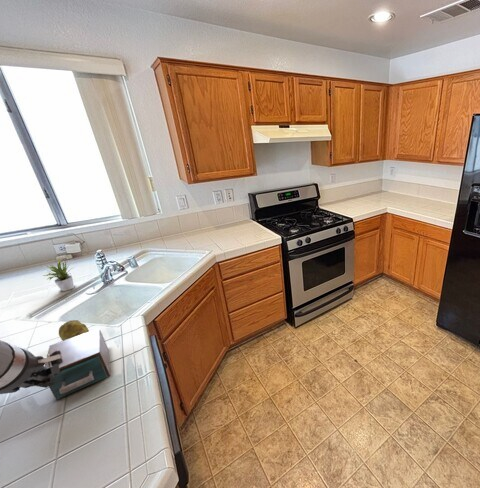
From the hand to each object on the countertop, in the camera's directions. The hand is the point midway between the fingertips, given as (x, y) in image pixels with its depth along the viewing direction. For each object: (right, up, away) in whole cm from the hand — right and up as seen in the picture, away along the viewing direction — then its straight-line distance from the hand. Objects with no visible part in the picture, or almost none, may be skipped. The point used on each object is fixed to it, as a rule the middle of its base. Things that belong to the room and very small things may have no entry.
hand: (49, 380), depth 62 cm
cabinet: (-12, -9, +23) cm, 28 cm away
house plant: (-75, +8, +79) cm, 109 cm away
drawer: (-10, -9, +20) cm, 24 cm away
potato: (-28, -5, +37) cm, 46 cm away
